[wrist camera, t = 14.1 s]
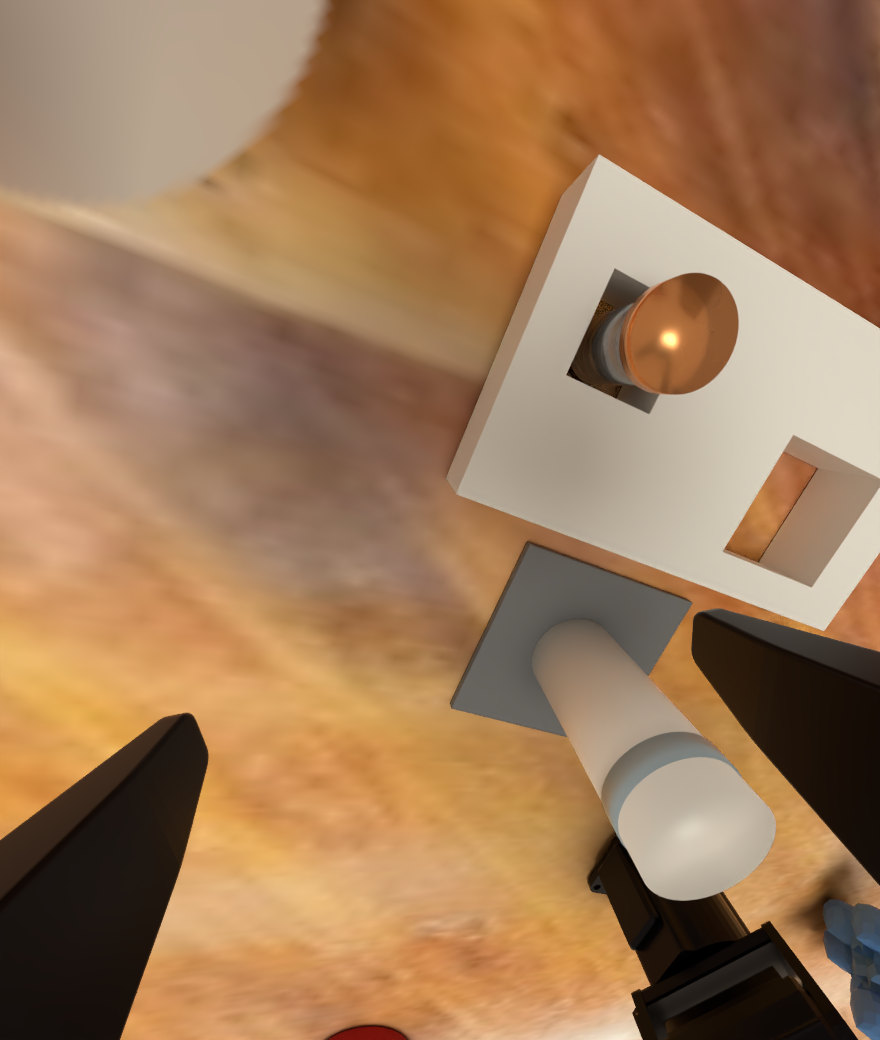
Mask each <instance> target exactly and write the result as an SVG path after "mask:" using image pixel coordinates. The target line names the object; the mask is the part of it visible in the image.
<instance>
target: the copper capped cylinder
mask: <svg viewBox="0 0 880 1040" xmlns="http://www.w3.org/2000/svg"><path fill="white" fill-rule="evenodd" d="M738 329H739V318H738V310H737V306H736V303H735V300H734V298H733V296H732V294H731V292H730V291H729V290H728V288H727V287H726V286H725V285H724V284H723V283H722V282H721V281H719V280H718V279H717V278H715V277H713V276H711V275H707V274H704V273H687V274H682V275H679V276H676V277H674V278H671V279H669V280H666V281H663V282H661V283H658V284H656V285H654V286H652V287H651V288H649V289H648V290H646V291H645V292H644V293H643V294H642V295H641V296H640V297H639V298H638V299H637V300H636V301H635V302H634V303H631V304H628V305H626V306H623V307H620V308H617V309H614V310H611V311H608V312H605V313H602V314H600V315H597V316H594V317H592V319H591V321H590V324H589V326H588V328H587V330H586V332H585V335H584V337H583V339H582V341H581V343H580V346H579V348H578V350H577V352H576V354H575V357H574V359H573V361H572V363H571V367H572V369H573V371H574V373H575V374H576V376H577V377H578V378H579V379H580V380H582V381H583V382H585V383H587V384H590V385H595V386H612V385H636V386H637V387H638V388H640V389H642V390H644V391H646V392H649V393H653V394H667V395H680V394H687V393H691V392H694V391H696V390H698V389H700V388H702V387H704V386H705V385H707V384H708V383H710V382H711V381H712V380H713V379H714V378H716V376H717V375H718V374H719V373H720V372H721V371H722V370H723V368H724V367H725V366H726V364H727V362H728V361H729V359H730V357H731V355H732V353H733V350H734V347H735V345H736V341H737V337H738Z"/></svg>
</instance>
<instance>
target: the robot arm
mask: <svg viewBox="0 0 880 1040" xmlns="http://www.w3.org/2000/svg"><path fill="white" fill-rule="evenodd" d="M691 650H692V656H693V659H694V661H695V663H696V664H697V666H698V667H699V669H700V670H701V671H702V673H703V674H704V675H705V677H706V678H707V679H708V681H709V682H710V684H711V685H712V686H713V688H714V689H715V690H716V692H717V693H718V694H719V696H720V697H721V699H722V700H723V701H724V703H725V704H726V705H727V707H728V708H729V709H730V711H731V712H732V713H733V715H734V716H735V718H736V719H737V720H738V722H739V723H740V724H741V726H742V727H743V728H744V730H745V731H746V732H747V733H748V735H749V736H750V737H751V739H752V740H753V741H754V742H755V744H756V745H757V746H758V747H759V748H760V749H761V751H762V752H763V753H764V754H765V755H766V756H767V758H768V759H769V760H770V761H771V762H772V763H773V764H774V766H775V767H776V768H777V769H778V770H779V771H780V772H781V774H782V775H783V776H784V777H785V778H786V779H787V780H788V782H789V783H790V784H791V785H792V786H793V787H794V788H795V790H796V791H797V792H798V793H799V794H800V795H801V796H802V798H803V799H804V800H805V801H806V802H807V803H808V804H809V806H810V807H811V808H812V809H813V810H814V811H815V812H816V814H817V815H818V816H819V817H820V818H821V819H822V820H823V822H824V823H825V824H826V825H827V826H828V827H829V828H830V830H831V831H832V832H833V833H834V834H835V835H836V836H837V838H838V839H839V840H840V841H841V842H842V843H843V844H844V846H845V847H846V848H847V849H848V850H849V851H850V852H851V854H852V855H853V856H854V857H855V858H856V859H857V860H858V862H859V863H860V864H861V865H862V866H863V867H864V868H865V870H866V871H867V872H868V873H869V874H870V875H871V876H872V877H873V879H874V880H875V881H876V882H877V883H878V884H879V885H880V652H879V651H875V650H871V649H867V648H864V647H860V646H856V645H853V644H849V643H845V642H842V641H838V640H834V639H831V638H827V637H823V636H820V635H816V634H812V633H809V632H805V631H801V630H797V629H794V628H790V627H786V626H783V625H779V624H775V623H772V622H768V621H764V620H761V619H757V618H753V617H750V616H746V615H742V614H739V613H735V612H731V611H727V610H724V609H711V610H706V611H701V612H698V613H697V614H696V615H695V616H694V619H693V632H692V648H691ZM207 765H208V749H207V746H206V744H205V741H204V739H203V736H202V734H201V732H200V729H199V727H198V724H197V722H196V719H195V718H194V716H193V715H192V714H190V713H182V714H177V715H172V716H167V717H164V718H162V719H160V720H159V721H157V722H156V723H155V724H154V725H152V726H151V727H150V728H148V729H147V730H146V731H144V732H143V733H142V734H140V735H139V736H138V737H136V738H135V739H134V740H132V741H131V742H130V743H128V744H127V745H126V746H124V747H123V748H122V749H120V750H119V751H118V752H116V753H115V754H114V755H112V756H111V757H110V758H108V759H107V760H106V761H104V762H103V763H102V764H100V765H99V766H98V767H97V768H95V769H94V770H93V771H91V772H90V773H89V774H87V775H86V776H85V777H83V778H82V779H81V780H79V781H78V782H77V783H75V784H74V785H73V786H71V787H70V788H69V789H67V790H66V791H65V792H63V793H62V794H61V795H59V796H58V797H57V798H55V799H54V800H53V801H51V802H50V803H49V804H47V805H46V806H45V807H44V808H42V809H41V810H40V811H38V812H37V813H36V814H34V815H33V816H32V817H30V818H29V819H28V820H26V821H25V822H24V823H22V824H21V825H20V826H18V827H17V828H16V829H14V830H13V831H12V832H10V833H9V834H8V835H6V836H5V837H4V838H2V839H1V840H0V1040H120V1038H121V1035H122V1032H123V1030H124V1027H125V1024H126V1021H127V1018H128V1016H129V1013H130V1010H131V1007H132V1004H133V1001H134V999H135V996H136V993H137V990H138V987H139V985H140V982H141V979H142V976H143V973H144V970H145V968H146V965H147V962H148V959H149V956H150V954H151V951H152V948H153V945H154V942H155V940H156V937H157V934H158V931H159V928H160V925H161V923H162V920H163V917H164V914H165V911H166V909H167V906H168V903H169V900H170V897H171V894H172V892H173V889H174V886H175V883H176V880H177V877H178V874H179V871H180V868H181V865H182V861H183V858H184V854H185V851H186V847H187V843H188V839H189V835H190V832H191V828H192V824H193V820H194V816H195V812H196V808H197V804H198V801H199V797H200V793H201V789H202V785H203V781H204V777H205V773H206V770H207ZM588 885H589V888H590V890H591V891H592V892H595V893H602V894H607V896H608V898H609V900H610V903H611V905H612V907H613V910H614V912H615V914H616V916H617V919H618V921H619V923H620V926H621V928H622V930H623V932H624V935H625V937H626V939H627V942H628V944H629V946H630V948H631V949H632V950H635V951H636V953H637V955H638V958H639V960H640V962H641V964H642V967H643V969H644V971H645V974H646V976H647V978H648V980H649V983H650V985H651V986H649V987H647V988H645V989H643V990H640V989H638V990H636V991H634V992H632V993H631V995H632V998H633V1001H634V1004H635V1006H636V1008H635V1010H634V1011H633V1013H632V1014H633V1016H634V1019H635V1021H636V1024H637V1026H638V1029H639V1031H640V1034H641V1037H642V1039H643V1040H858V1039H857V1037H856V1036H855V1034H854V1033H853V1032H852V1030H851V1029H850V1028H849V1026H848V1025H847V1023H846V1022H845V1021H844V1019H843V1018H842V1017H841V1015H840V1014H839V1013H838V1011H837V1010H836V1009H835V1007H834V1006H833V1005H832V1003H831V1002H830V1001H829V999H828V998H827V997H826V995H825V994H824V993H823V991H822V990H821V989H820V987H819V986H818V985H817V983H816V982H815V981H814V979H813V978H812V977H811V975H810V974H809V973H808V971H807V970H806V969H805V967H804V966H803V965H802V963H801V962H800V961H799V959H798V958H797V957H796V955H795V954H794V953H793V951H792V950H791V949H790V947H789V946H788V945H787V943H786V942H785V941H784V939H783V938H782V937H781V936H780V934H779V933H778V932H777V930H776V929H775V928H774V926H773V925H772V924H771V922H770V921H768V922H766V923H764V924H762V925H761V927H762V928H760V929H758V930H756V931H754V932H752V933H750V931H749V930H748V928H747V927H746V925H745V924H744V922H743V921H742V919H741V918H740V916H739V915H738V913H737V912H736V910H735V909H734V907H733V906H732V904H731V903H730V901H729V900H728V898H727V897H726V895H725V894H724V892H723V891H722V892H720V893H718V894H715V895H712V896H709V897H706V898H701V899H696V900H685V901H680V900H671V899H666V898H664V897H661V896H659V895H657V894H655V893H654V892H652V891H651V890H650V889H649V888H648V887H647V886H646V884H645V883H644V881H643V879H642V877H641V875H640V873H639V871H638V870H637V868H636V866H635V864H634V862H633V860H632V858H631V856H630V854H629V852H628V851H627V849H626V848H625V847H624V846H623V845H622V843H621V842H620V840H619V838H618V836H617V837H616V838H615V840H614V842H613V843H612V845H611V846H610V848H609V849H608V851H607V852H606V854H605V855H604V857H603V858H602V860H601V861H600V863H599V864H598V866H597V867H596V869H595V870H594V872H593V873H592V875H591V876H590V878H589V880H588Z"/></svg>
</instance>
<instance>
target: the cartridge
mask: <svg viewBox="0 0 880 1040" xmlns="http://www.w3.org/2000/svg"><path fill="white" fill-rule="evenodd" d="M532 669H533V672H534V675H535V677H536V678H537V680H538V682H539V684H540V686H541V688H542V690H543V692H544V694H545V695H546V697H547V699H548V701H549V703H550V705H551V707H552V709H553V711H554V712H555V714H556V716H557V718H558V720H559V722H560V724H561V726H562V728H563V729H564V731H565V733H566V735H567V737H568V739H569V741H570V743H571V745H572V747H573V748H574V750H575V752H576V754H577V756H578V758H579V760H580V762H581V764H582V765H583V767H584V769H585V771H586V773H587V775H588V777H589V779H590V781H591V782H592V784H593V786H594V788H595V790H596V792H597V794H598V796H599V798H600V800H601V801H602V806H603V809H604V811H605V813H606V815H607V817H608V819H609V821H610V823H611V825H612V826H613V828H614V830H615V832H616V834H617V836H618V838H619V840H620V842H621V843H622V845H623V846H624V847H625V848H626V849H627V851H628V852H629V854H630V856H631V858H632V860H633V862H634V864H635V866H636V868H637V870H638V871H639V873H640V875H641V877H642V879H643V881H644V883H645V884H646V886H647V887H648V888H649V889H650V890H651V891H652V892H654V893H655V894H657V895H659V896H661V897H664V898H666V899H671V900H680V901H685V900H696V899H701V898H706V897H709V896H712V895H715V894H718V893H720V892H722V891H725V890H727V889H729V888H731V887H732V886H734V885H736V884H737V883H739V882H740V881H742V880H743V879H744V878H746V877H747V876H748V875H749V874H750V873H752V872H753V871H754V870H755V869H756V868H757V867H758V866H759V865H760V863H761V862H762V861H763V860H764V858H765V857H766V855H767V854H768V852H769V850H770V848H771V846H772V844H773V841H774V838H775V833H776V822H775V817H774V815H773V813H772V811H771V809H770V808H769V807H768V806H767V805H766V804H765V802H764V801H763V800H762V799H761V798H760V797H759V796H758V795H757V794H756V793H755V792H754V791H753V790H752V788H751V787H750V786H749V785H748V784H747V783H746V782H745V781H744V780H743V779H742V777H741V775H740V773H739V772H738V770H737V769H736V768H735V767H734V766H733V765H732V764H731V763H730V762H729V760H728V759H727V758H726V757H725V756H724V755H723V754H722V753H721V752H720V751H719V750H718V749H717V748H716V747H715V745H714V744H713V743H712V742H711V741H709V740H708V739H707V738H705V737H704V736H703V735H702V734H701V733H700V732H699V731H698V730H697V729H696V728H695V727H694V726H693V725H692V724H691V722H690V721H689V720H688V719H687V718H686V717H685V716H684V715H683V714H682V713H681V712H680V711H679V709H678V708H677V707H676V706H675V705H674V704H673V703H672V702H671V701H670V700H669V699H668V698H667V696H666V695H665V694H664V693H663V692H662V691H661V690H660V689H659V688H658V687H657V686H656V685H655V683H654V682H653V681H652V680H651V679H650V678H649V677H648V676H647V675H646V674H645V673H644V672H643V670H642V669H641V668H640V667H639V666H638V665H637V664H636V663H635V662H634V661H633V660H632V659H631V658H630V656H629V655H628V654H627V653H626V652H625V651H624V650H623V649H622V648H621V647H620V646H619V645H618V643H617V642H616V641H615V640H614V639H613V638H612V637H611V636H610V635H609V634H608V633H607V632H606V630H605V629H604V628H603V627H601V626H600V625H599V624H597V623H595V622H593V621H590V620H585V619H573V620H568V621H564V622H562V623H559V624H557V625H555V626H553V627H552V628H551V629H549V630H548V631H547V632H546V633H545V634H544V635H543V636H542V637H541V638H540V639H539V641H538V642H537V644H536V646H535V648H534V651H533V654H532Z"/></svg>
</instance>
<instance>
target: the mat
mask: <svg viewBox="0 0 880 1040" xmlns="http://www.w3.org/2000/svg"><path fill="white" fill-rule="evenodd" d="M691 605H692V602H691V601H689V600H688V599H685V598H682V597H680V596H677V595H674V594H671V593H669V592H666V591H663V590H660V589H657V588H655V587H652V586H649V585H646V584H643V583H641V582H638V581H635V580H632V579H630V578H627V577H624V576H621V575H618V574H616V573H613V572H610V571H607V570H604V569H602V568H599V567H596V566H593V565H591V564H588V563H585V562H582V561H579V560H577V559H574V558H571V557H568V556H565V555H563V554H560V553H557V552H554V551H552V550H549V549H546V548H543V547H540V546H538V545H535V544H532V543H529V542H527V544H526V546H525V548H524V550H523V552H522V554H521V556H520V558H519V560H518V562H517V564H516V567H515V569H514V571H513V573H512V575H511V577H510V579H509V581H508V583H507V585H506V587H505V590H504V592H503V594H502V596H501V598H500V600H499V602H498V604H497V606H496V608H495V610H494V613H493V615H492V617H491V619H490V621H489V623H488V625H487V627H486V629H485V631H484V634H483V636H482V638H481V640H480V642H479V644H478V646H477V648H476V650H475V652H474V654H473V657H472V659H471V661H470V663H469V665H468V667H467V669H466V671H465V673H464V675H463V677H462V680H461V682H460V684H459V686H458V688H457V690H456V692H455V694H454V696H453V698H452V700H451V703H450V705H451V708H452V709H456V710H460V711H464V712H468V713H472V714H476V715H480V716H484V717H488V718H492V719H496V720H500V721H504V722H508V723H512V724H516V725H520V726H524V727H529V728H533V729H537V730H541V731H545V732H549V733H553V734H557V735H561V736H565V737H567V735H566V733H565V731H564V729H563V728H562V726H561V724H560V722H559V720H558V718H557V716H556V714H555V712H554V711H553V709H552V707H551V705H550V703H549V701H548V699H547V697H546V695H545V694H544V692H543V690H542V688H541V686H540V684H539V682H538V680H537V678H536V677H535V675H534V672H533V669H532V654H533V651H534V648H535V646H536V644H537V642H538V641H539V639H540V638H541V637H542V636H543V635H544V634H545V633H546V632H547V631H548V630H549V629H551V628H552V627H553V626H555V625H557V624H559V623H562V622H564V621H568V620H573V619H585V620H590V621H593V622H595V623H597V624H599V625H600V626H601V627H603V628H604V629H605V630H606V632H607V633H608V634H609V635H610V636H611V637H612V638H613V639H614V640H615V641H616V642H617V643H618V645H619V646H620V647H621V648H622V649H623V650H624V651H625V652H626V653H627V654H628V655H629V656H630V658H631V659H632V660H633V661H634V662H635V663H636V664H637V665H638V666H639V667H640V668H641V669H642V670H643V672H644V673H645V674H646V675H647V676H649V674H650V672H651V671H652V669H653V667H654V666H655V664H656V662H657V661H658V659H659V658H660V656H661V654H662V653H663V651H664V649H665V648H666V646H667V644H668V643H669V641H670V639H671V638H672V636H673V634H674V633H675V631H676V629H677V628H678V626H679V625H680V623H681V621H682V620H683V618H684V616H685V615H686V613H687V611H688V610H689V608H690V606H691Z"/></svg>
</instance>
